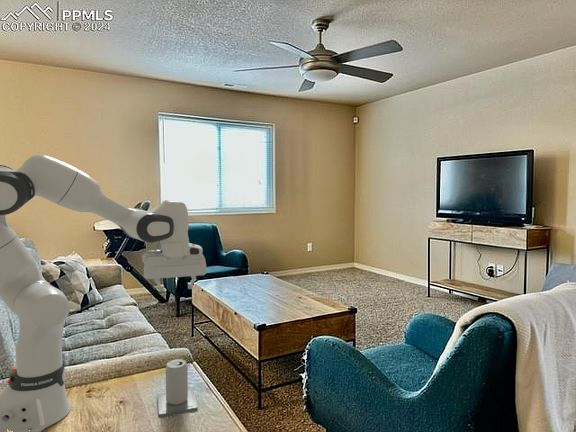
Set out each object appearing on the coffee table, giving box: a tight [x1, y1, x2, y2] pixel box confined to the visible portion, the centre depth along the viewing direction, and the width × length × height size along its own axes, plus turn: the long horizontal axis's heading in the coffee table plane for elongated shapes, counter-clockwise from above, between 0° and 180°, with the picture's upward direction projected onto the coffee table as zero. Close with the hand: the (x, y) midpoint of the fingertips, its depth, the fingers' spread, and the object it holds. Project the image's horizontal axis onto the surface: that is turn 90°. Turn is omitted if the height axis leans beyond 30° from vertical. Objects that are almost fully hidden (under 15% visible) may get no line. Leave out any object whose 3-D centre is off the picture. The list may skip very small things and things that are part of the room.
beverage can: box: [165, 358, 189, 405], centre depth 120 cm, size 6×6×12 cm
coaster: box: [157, 387, 198, 418], centre depth 120 cm, size 11×11×1 cm
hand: (175, 289), depth 132 cm, fingers open, 8 cm apart
